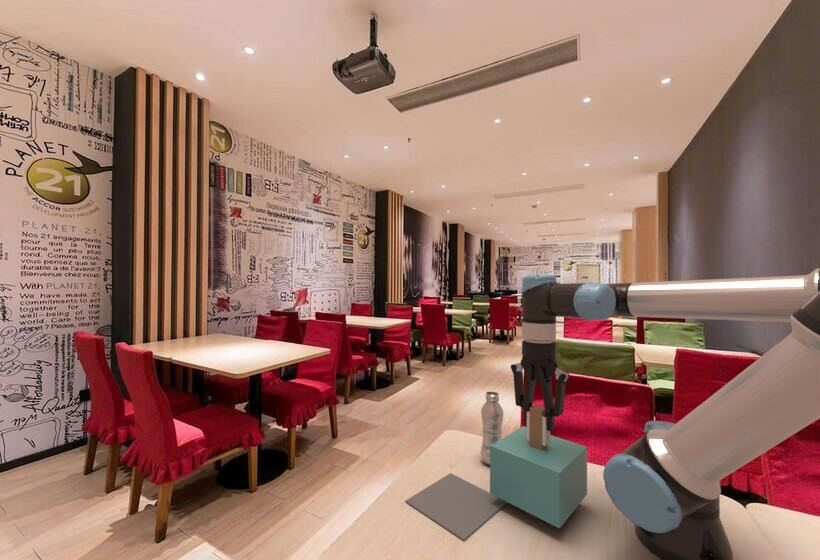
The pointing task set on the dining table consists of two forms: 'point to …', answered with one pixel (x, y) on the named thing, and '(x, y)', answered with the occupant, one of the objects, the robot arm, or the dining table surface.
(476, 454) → the dining table surface
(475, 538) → the dining table surface
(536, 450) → the teal base with peg
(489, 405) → the plastic bottle
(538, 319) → the robot arm
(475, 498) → the mat
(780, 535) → the dining table surface
